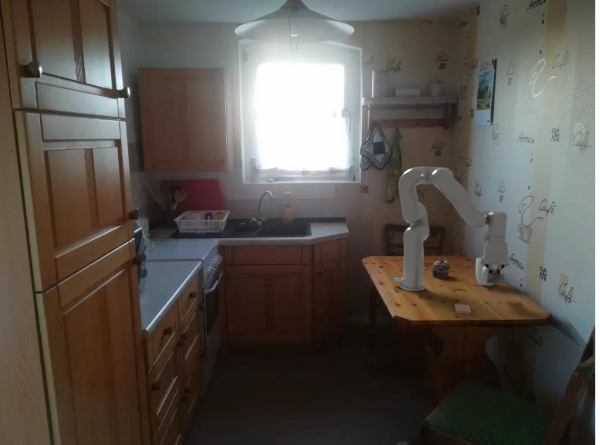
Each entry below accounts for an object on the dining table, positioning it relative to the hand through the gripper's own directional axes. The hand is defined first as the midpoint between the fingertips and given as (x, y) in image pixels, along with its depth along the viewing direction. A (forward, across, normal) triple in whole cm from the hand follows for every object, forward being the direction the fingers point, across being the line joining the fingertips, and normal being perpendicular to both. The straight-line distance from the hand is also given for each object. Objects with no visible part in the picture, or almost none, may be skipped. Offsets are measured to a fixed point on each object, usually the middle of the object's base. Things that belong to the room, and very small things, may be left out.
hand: (493, 277), depth 216 cm
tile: (+10, -14, -13) cm, 22 cm away
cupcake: (+11, -22, +34) cm, 42 cm away
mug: (+11, 0, +24) cm, 26 cm away
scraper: (+1, 0, 0) cm, 1 cm away
